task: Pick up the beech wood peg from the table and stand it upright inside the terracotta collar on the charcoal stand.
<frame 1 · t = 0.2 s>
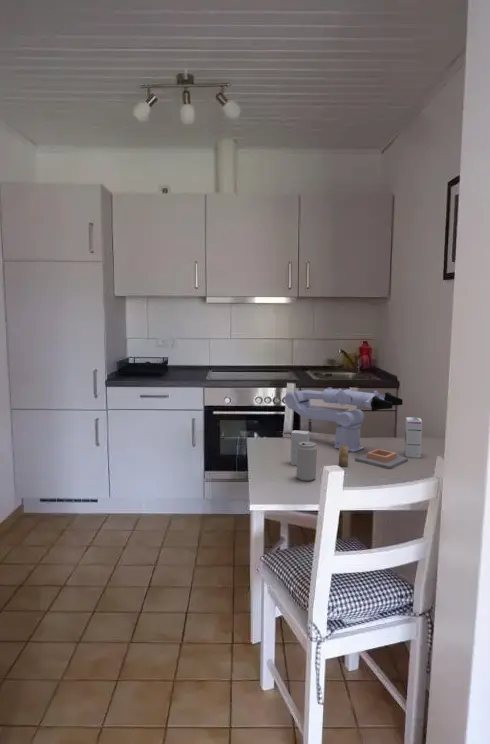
hand: (397, 403, 190), 21 cm above the table, tool horizontal, fingers open, 7 cm apart
skincare box: (299, 464, 186), on the table
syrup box: (412, 455, 198), on the table
beverage can: (306, 479, 170), on the table
wood peg: (343, 465, 185), on the table
collar stand: (381, 460, 191), on the table
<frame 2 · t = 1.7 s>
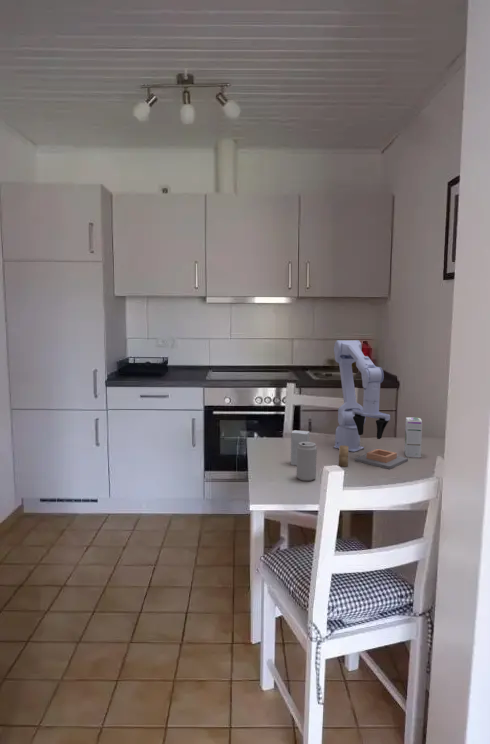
hand: (369, 436, 189), 9 cm above the table, tool pointing down, fingers open, 7 cm apart
nothing on the table moved.
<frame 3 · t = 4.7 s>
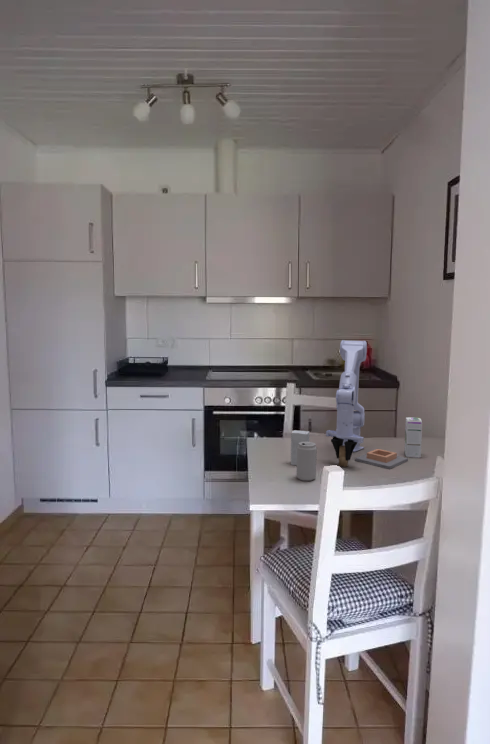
hand: (343, 458, 184), 2 cm above the table, tool pointing down, fingers closed on wood peg, 3 cm apart
wood peg: (343, 465, 185), on the table, touching gripper
everything else where it was.
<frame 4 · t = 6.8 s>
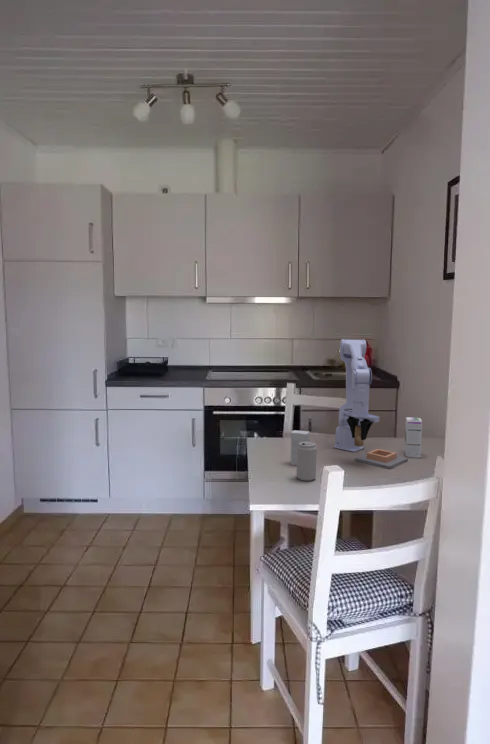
hand: (359, 438, 186), 9 cm above the table, tool pointing down, fingers closed on wood peg, 3 cm apart
wood peg: (358, 445, 186), point 7 cm above the table, touching gripper
everything else where it was.
when the fingers open (4 cm above the table, at t = 9.1 s): wood peg stays where it is, resting on collar stand.
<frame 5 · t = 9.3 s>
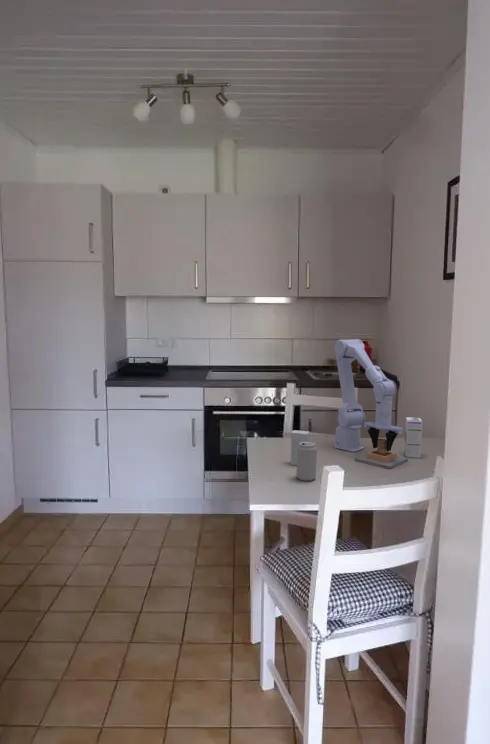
hand: (381, 449, 190), 4 cm above the table, tool pointing down, fingers open, 5 cm apart
wood peg: (381, 458, 191), point 1 cm above the table, touching collar stand
everything else where it was.
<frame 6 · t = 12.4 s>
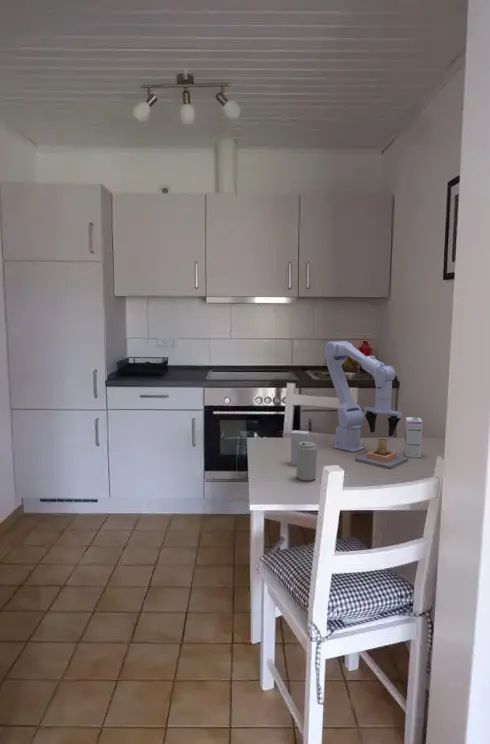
hand: (381, 433, 193), 9 cm above the table, tool pointing down, fingers open, 7 cm apart
nothing on the table moved.
at the end: wood peg 0.1 cm off-centre on the collar stand, point 1.0 cm above the collar stand's base; wood peg tilted 1°; the gripper is holding nothing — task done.
